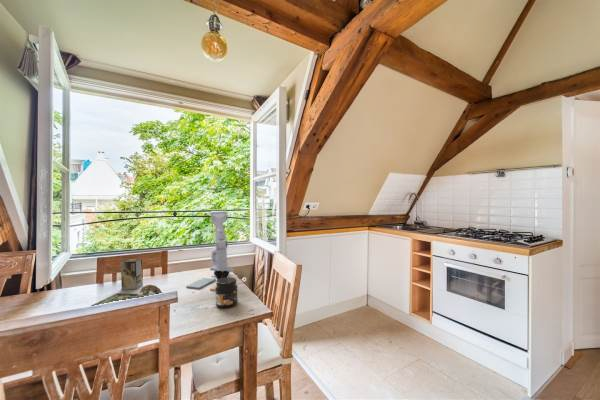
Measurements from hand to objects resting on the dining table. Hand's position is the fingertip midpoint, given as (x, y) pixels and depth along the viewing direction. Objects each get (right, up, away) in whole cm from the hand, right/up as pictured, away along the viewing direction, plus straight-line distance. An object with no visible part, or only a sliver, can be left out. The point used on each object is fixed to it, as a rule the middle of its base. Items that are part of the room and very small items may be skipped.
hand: (222, 283), depth 147 cm
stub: (0, -2, 0) cm, 2 cm away
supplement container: (+10, -3, -24) cm, 26 cm away
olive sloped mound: (-41, -4, -20) cm, 45 cm away
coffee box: (-54, -3, +1) cm, 54 cm away
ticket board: (-14, -2, +4) cm, 15 cm away
